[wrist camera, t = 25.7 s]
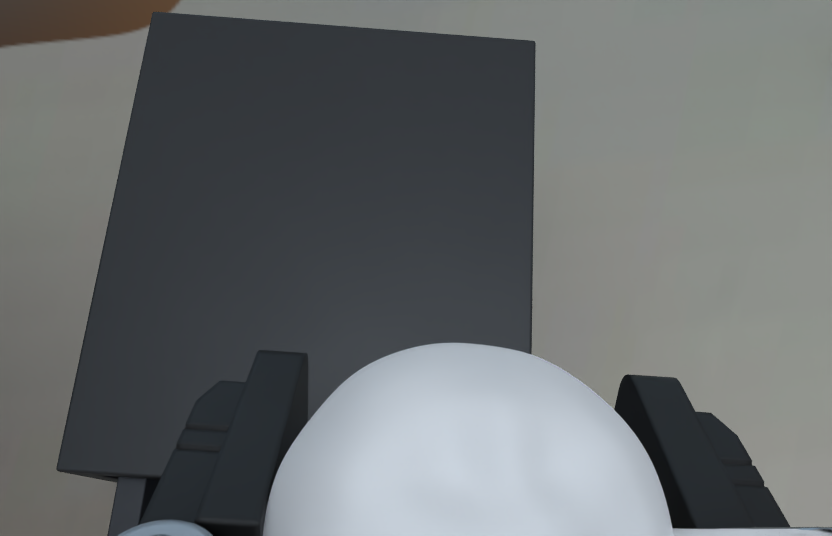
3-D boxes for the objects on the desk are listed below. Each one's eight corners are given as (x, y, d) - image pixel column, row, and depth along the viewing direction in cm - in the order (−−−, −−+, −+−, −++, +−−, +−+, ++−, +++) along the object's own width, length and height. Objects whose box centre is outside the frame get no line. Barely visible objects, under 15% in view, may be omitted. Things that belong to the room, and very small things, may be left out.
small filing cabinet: (485, 511, 29) (530, 502, 20) (157, 490, 29) (54, 470, 20) (495, 170, 34) (536, 40, 25) (214, 149, 34) (151, 10, 25)
